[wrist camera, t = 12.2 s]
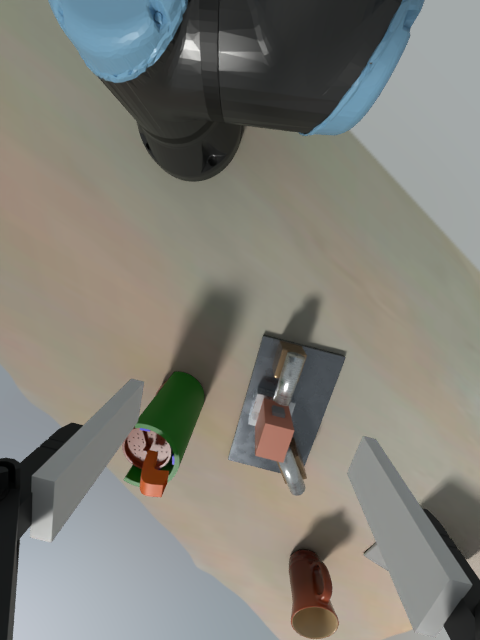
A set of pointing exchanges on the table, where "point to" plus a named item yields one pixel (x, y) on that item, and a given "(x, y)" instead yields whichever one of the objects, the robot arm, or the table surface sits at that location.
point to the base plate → (286, 395)
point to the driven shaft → (293, 469)
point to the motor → (163, 434)
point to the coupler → (273, 431)
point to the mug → (311, 596)
